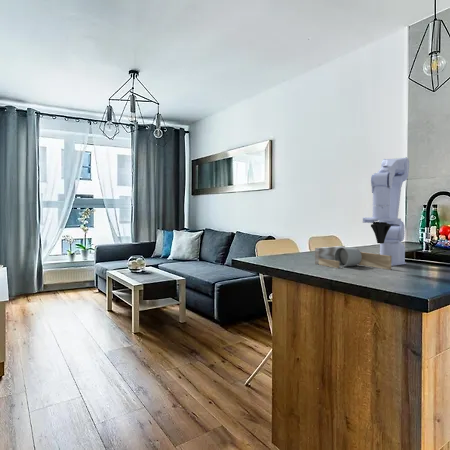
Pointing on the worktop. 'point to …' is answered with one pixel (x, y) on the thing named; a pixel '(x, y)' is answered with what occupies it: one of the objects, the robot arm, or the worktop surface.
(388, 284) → the worktop surface
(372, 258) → the brown wooden pieces
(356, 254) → the ceramic mug
